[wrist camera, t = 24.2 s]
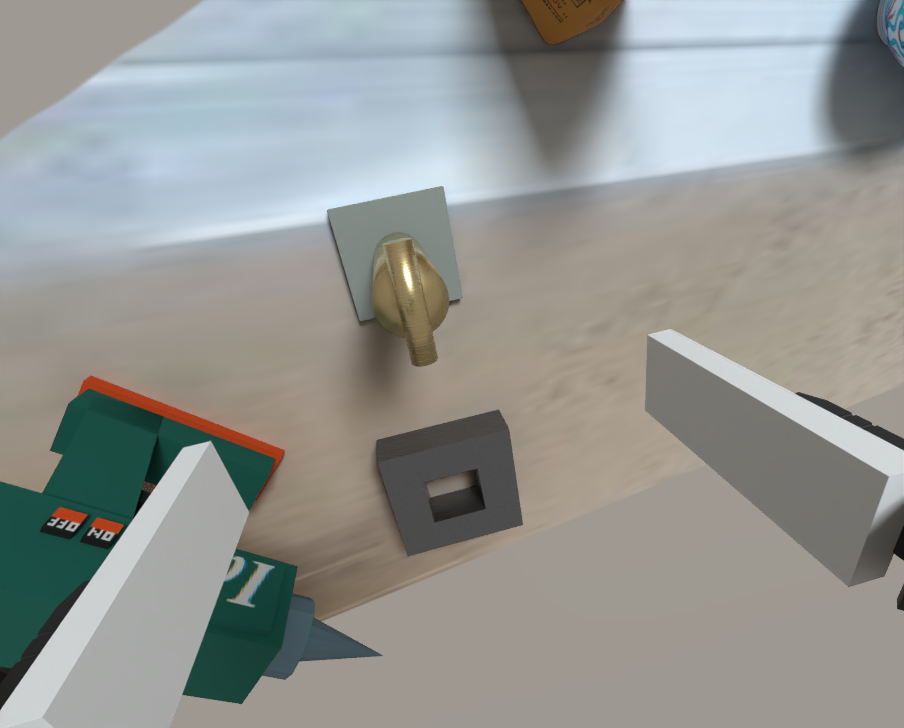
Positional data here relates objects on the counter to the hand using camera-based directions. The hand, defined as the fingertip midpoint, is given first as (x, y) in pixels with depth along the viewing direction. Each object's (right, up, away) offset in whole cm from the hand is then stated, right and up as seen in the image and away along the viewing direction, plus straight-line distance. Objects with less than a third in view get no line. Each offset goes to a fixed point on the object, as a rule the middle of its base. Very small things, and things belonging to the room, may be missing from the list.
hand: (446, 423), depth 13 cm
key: (-5, +11, +25) cm, 28 cm away
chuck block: (0, -11, +37) cm, 39 cm away
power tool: (-21, -9, +32) cm, 40 cm away
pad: (-5, +12, +26) cm, 29 cm away
